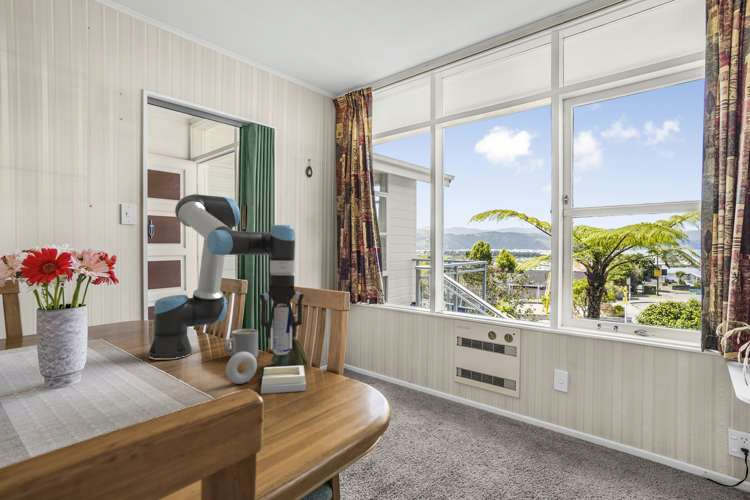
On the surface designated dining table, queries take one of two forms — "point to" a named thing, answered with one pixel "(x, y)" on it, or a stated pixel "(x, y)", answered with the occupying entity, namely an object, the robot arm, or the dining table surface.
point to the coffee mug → (243, 342)
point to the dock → (283, 379)
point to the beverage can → (281, 330)
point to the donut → (233, 364)
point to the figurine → (291, 355)
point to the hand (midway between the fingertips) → (281, 347)
